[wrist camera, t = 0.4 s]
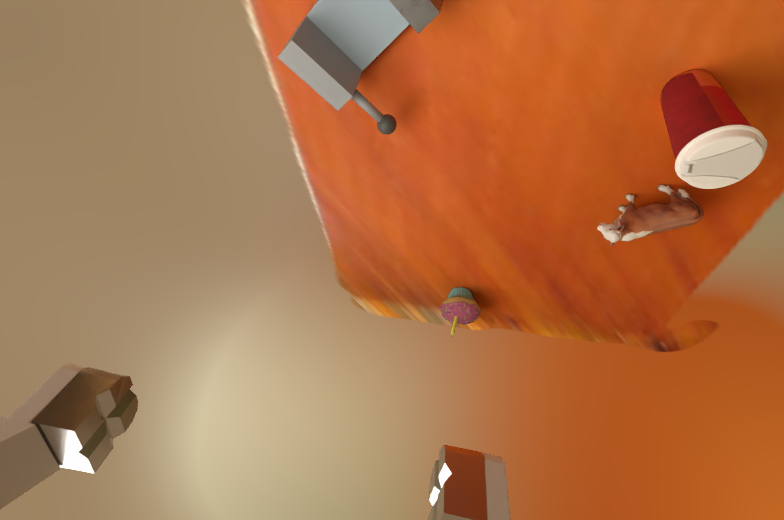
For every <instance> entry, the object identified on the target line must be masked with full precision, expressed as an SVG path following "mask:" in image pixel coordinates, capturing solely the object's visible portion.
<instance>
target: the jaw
mask: <svg viewBox="0 0 784 520" xmlns="http://www.w3.org/2000/svg"><path fill="white" fill-rule="evenodd" d="M389 1H390V2H391V3H392V5H393V6H394V7H395V8H396V9H397V10H398V11H399V12H400V14H401V15H402V16H403V17H404V18H405V19H406V20H407V22H408V23H409V24H410V25H411V26H412V27H413V28H414V29H415V31H416V32H417V33H420V32H421V31H422V30H423V29H424V28H425V27H426V26H427V25H428V24H429V23H430V22H431V21H432V20H433V19H434V18H435V17H436V16H437V15H438V14H439V13H440V10H441V5H442V1H443V0H389Z"/></svg>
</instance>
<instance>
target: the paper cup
mask: <svg viewBox="0 0 784 520" xmlns="http://www.w3.org/2000/svg"><path fill="white" fill-rule="evenodd" d="M660 101H661V106H662V111H663V114H664V118H665V122H666V126H667V129H668V133H669V137H670V141H671V145H672V149H673V152H674V156H675V159H676V162H675V171H676V173H677V175H678V176H679V177H680V178H681V179H682V180H684V181H686V182H687V183H688V184H690V185H692V186H694V187H697V188H702V189H715V188H721V187H725V186H728V185H731V184H734V183H736V182H738V181H740V180H742V179H743V178H745V177H746V176H747V175H749V174H750V173H751V172H753V171H754V170H755V169H756V168H757V166H758V165H759V163H760V162H761V161H762V159H763V157H764V155H765V151H766V148H767V140H766V139H765V137H764V136H763V134H762V133H761V132H760V131H759V130H758V129H756V128H754V127H752V126H751V125H750V124H749V122H748V121H747V120H746V118H745V117H744V116H743V115H742V113H741V112H740V111H739V109H738V108H737V107H736V105H735V104H734V103H733V101H732V100H731V99H730V97H729V96H728V95H727V93H726V92H725V91H724V90H723V88H722V87H721V86H720V84H719V83H718V82H717V81H716V80H715V78H714V77H713V76H712V75H711V74H710V73H708V72H707V71H704V70H699V69H695V70H689V71H685V72H683V73H681V74H679V75H677V76H675V77H674V78H672V79H671V80H670V81H669V82H668V83H667V84H666V85H665V87H664V88H663V90H662V92H661V96H660Z"/></svg>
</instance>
